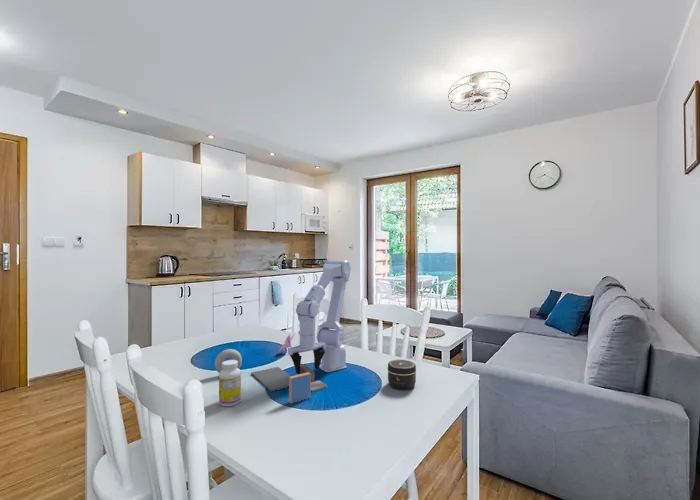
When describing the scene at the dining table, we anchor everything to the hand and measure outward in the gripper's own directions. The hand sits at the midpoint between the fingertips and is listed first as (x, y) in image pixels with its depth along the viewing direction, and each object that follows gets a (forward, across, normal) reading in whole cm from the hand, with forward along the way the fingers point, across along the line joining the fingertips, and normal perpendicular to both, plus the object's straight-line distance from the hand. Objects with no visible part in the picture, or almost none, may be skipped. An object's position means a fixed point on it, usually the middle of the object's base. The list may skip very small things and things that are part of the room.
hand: (307, 370), depth 126 cm
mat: (+4, +9, -9) cm, 13 cm away
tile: (+4, +9, +12) cm, 15 cm away
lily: (+4, -8, -35) cm, 36 cm away
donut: (+4, +22, -23) cm, 32 cm away
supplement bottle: (+4, +28, +1) cm, 28 cm away
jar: (+4, -26, +22) cm, 34 cm away
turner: (+4, 0, +1) cm, 4 cm away
